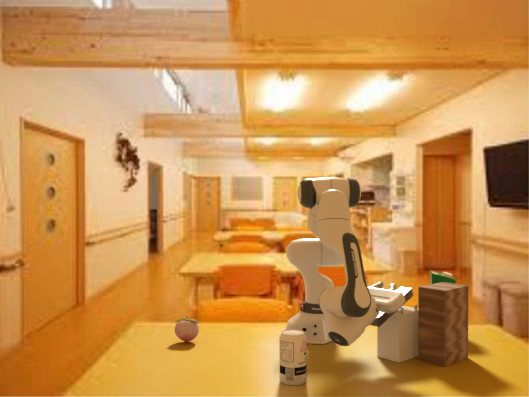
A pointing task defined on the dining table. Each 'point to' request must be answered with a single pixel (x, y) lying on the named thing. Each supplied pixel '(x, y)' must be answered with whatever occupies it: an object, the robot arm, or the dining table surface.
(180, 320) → the decorative fruit
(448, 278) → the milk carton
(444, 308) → the stand
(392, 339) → the dock
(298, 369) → the supplement can
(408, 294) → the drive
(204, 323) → the dining table surface
